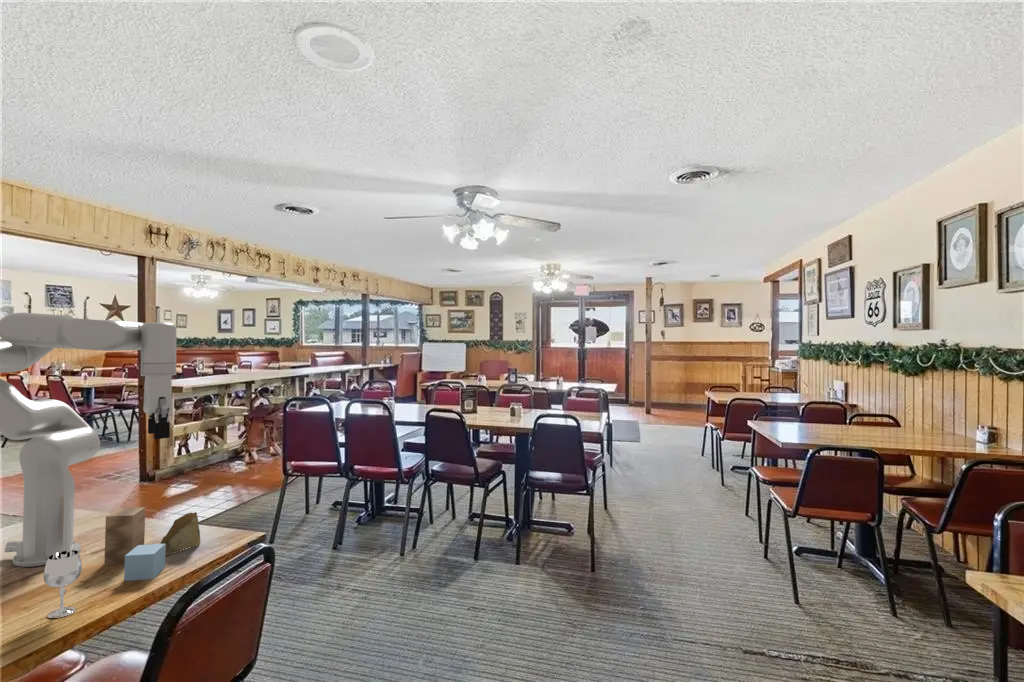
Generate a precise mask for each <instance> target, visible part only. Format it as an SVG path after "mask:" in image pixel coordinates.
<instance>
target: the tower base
mask: <svg viewBox="0 0 1024 682" xmlns="http://www.w3.org/2000/svg"><path fill="white" fill-rule="evenodd" d="M145 537H146V535H145V530H144V531H143V532H141V533H140V534H139V535H137V536H136V537H135V538H133V539H124V540H106V541H105V540H104V564H105V565H117V564H118V563H121V564H125V555H126V554H128V553H129V552H130V551H131V550H133V549H134V548H135V547H136V546H138V545H145ZM118 565H119V564H118Z"/></svg>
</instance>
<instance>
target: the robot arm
mask: <svg viewBox="0 0 1024 682" xmlns="http://www.w3.org/2000/svg"><path fill="white" fill-rule="evenodd" d="M0 338H1V339H2V340H0V374H4V373H16V372H21V371H24V370H26V369H28V368H30V367H32V366H33V365H34V364H36V363H37V362H39V361H40V360H41V359H42V358H44V357H45V356H47V355H48V354H49V353H51V352H52V351H53V350H54V349H66V350H67V349H68V350H72V349H74V350H75V349H76V350H89V351H90V350H91V351H105V352H106V351H107V352H113V351H114V352H116V351H117V352H119V351H140V376H141V377H144V385H143V386H144V387H143V388H144V390H143V412H144V413H145V414H147V415H148V418H147V434H149V435H152V434H154V435H153V439H154V440H162V439H170V437H171V435H170V433H171V429H170V427H171V426H170V425H171V422H170V416H169V414H170V413H171V412H172V404H173V403H172V401H173V399H172V397H173V392H172V391H173V390H172V389H173V387H172V384H173V383H172V377H173V376H176V375H177V327H176V325H175V323H171V322H159V321H157V322H155V321H154V322H153V321H152V322H141V321H140V322H139V321H130V320H129V321H128V320H109V319H107V320H106V319H105V320H103V319H89V318H79V317H77V316H75V315H68V314H67V315H65V314H64V315H63V314H51V313H50V314H49V313H37V312H36V313H34V312H14V313H11V314H8V315H6V316H4V317H2V318H0ZM0 434H1V435H2V436H4V437H5V438H7V439H8V440H11V441H20V440H21V441H22V440H27V441H26V442H25V443H24V444H23V445H22V447H21V449H20V451H19V456H18V459H19V464H20V468H21V473H22V477H23V478H22V479H23V512H22V513H23V514H22V515H23V516H22V540H21V541H20V540H10V541H8V542H7V543H6V545H5V548H4V552H5V553H12V552H15V553H16V555H15V556H14V557H13V558H12V564H13V565H14V566H16V567H20V566H21V567H23V568H28V567H29V568H30V567H31V568H32V567H40V566H46V563H47V560H48V557H49V556H51V555H53V554H55V553H58V552H62V551H68V550H76V551H78V552H79V553H80V551H81V549H82V548H81V544H79V543H78V542H75V541H74V523H75V521H74V520H75V493H76V492H75V485H76V484H75V479H74V477H73V475H72V473H71V471H70V469H69V466H73V465H76V464H79V463H82V462H84V461H88V460H90V459H92V458H93V457H94V456H95V455H96V454H97V453H98V452H99V450H100V446H101V440H100V437H99V435H98V434H97V432H96V430H95V429H93V428H92V426H91V425H90V424H89V423H87V421H85V419H83V418H82V417H81V416H80V415H79V414H78V413H77V412H76V411H75V409H73V408H72V407H71V406H70V405H68V404H67V403H65V402H64V401H62V400H58V399H54V398H52V399H51V398H49V399H48V398H45V399H37V400H32V399H29V398H28V397H26V396H25V395H23V394H22V393H21V392H20V391H19V389H17V387H16V386H14V385H13V384H11V382H8V381H6V380H4V379H3V378H0Z"/></svg>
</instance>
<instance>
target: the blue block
mask: <svg viewBox="0 0 1024 682" xmlns="http://www.w3.org/2000/svg"><path fill="white" fill-rule="evenodd" d="M165 551H166V544H161V543H153V544H144V545H138V546H136V547H135V548H134V549H133V550H131V551H130V552H129V553H128V554H126V555H125V563H124V567H123V568H124V571H123V575H124V576H123V581H124V582H129V581H141V580H154V579H155V578H156V577H157V576H158V575H159V574H161V572H162V571H163V570H164V569H165V568H166V555H165Z"/></svg>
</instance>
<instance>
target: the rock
mask: <svg viewBox="0 0 1024 682" xmlns="http://www.w3.org/2000/svg"><path fill="white" fill-rule="evenodd" d="M198 517H199V516H198V513H197V512H196V511H195V512H188V513H185V514H184V515H182V516H180V517H179V518H177V519H175V520H174V521H173V524H172V526H171V527H170V529H169V530H168V532H167V533H166V534H165V535H164V536H163V538H162V539H161V541H160V544H166V551H165V556H167V555H168V556H169V555H172V554H171V553H173V554H175V553H174V552H176V553H178V552H177V551H179V552H181V551H180V550H183V549H186V548H189V547H192V548H194V547H193V546H195V547H197V546H196V545H198V546H200V545H201V531H200V526H199V525H200V523H199V518H198ZM199 544H200V545H199ZM189 549H190V548H189ZM186 550H187V549H186ZM183 551H184V550H183Z"/></svg>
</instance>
